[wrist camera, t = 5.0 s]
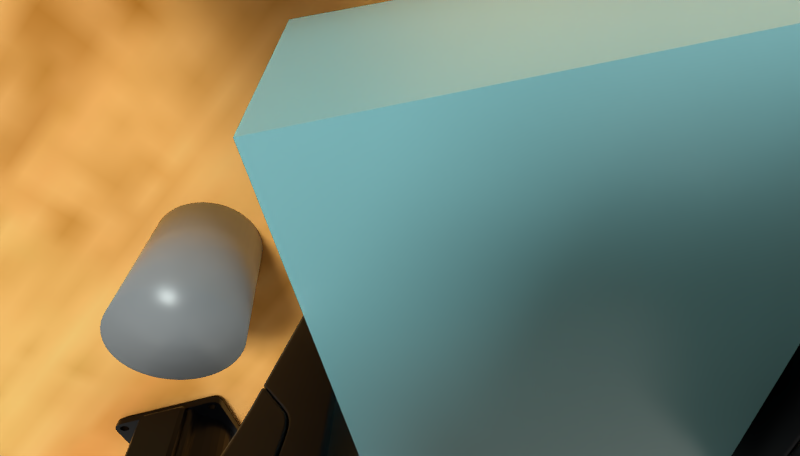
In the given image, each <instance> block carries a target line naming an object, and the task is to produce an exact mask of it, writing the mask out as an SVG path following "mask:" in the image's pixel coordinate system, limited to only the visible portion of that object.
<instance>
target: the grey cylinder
mask: <svg viewBox="0 0 800 456" xmlns="http://www.w3.org/2000/svg"><path fill="white" fill-rule="evenodd" d="M262 252H263V245H262V240H261V237H260V234H259V232H258V230H257V229H256V227H255V226H254V225H253V224H252V223H251V221H250V220H248V219H247V218H246V217H245V216H244V215H242V214H241V213H239V212H237V211H235V210H233V209H231V208H229V207H226V206H223V205H219V204H214V203H204V202H202V203H191V204H186V205H183V206H180V207H178V208H175V209H174V210H172V211H170V212H169V213H168V214H166V215H165V216H164V217H163V218H162V219H161V221H160V222H159V224H158V226H157V227H156V229H155V231H154V232H153V234H152V235H151V237H150V239H149V240H148V242H147V244H146V245H145V247H144V249H143V250H142V252H141V254H140V255H139V257H138V259H137V260H136V262H135V264H134V265H133V267H132V269H131V270H130V272H129V274H128V275H127V277H126V279H125V280H124V282H123V284H122V285H121V287H120V289H119V290H118V292H117V293H116V295H115V297H114V298H113V300H112V302H111V303H110V305H109V307H108V308H107V310H106V312H105V313H104V315H103V318H102V320H101V326H100V330H101V337H102V340H103V342H104V344H105V346H106V348H107V349H108V350H109V352H110V353H111V354H112V355H113V356H114V357H115V358H116V359H117V360H119V361H120V362H121V363H123V364H124V365H126V366H128V367H129V368H131V369H133V370H135V371H138V372H140V373H143V374H146V375H150V376H153V377H158V378H164V379H175V380H184V379H196V378H201V377H206V376H209V375H212V374H215V373H217V372H220V371H222V370H224V369H226V368H227V367H229V366H230V365H231V364H233V363H234V362H235V361H236V360H237V359H238V358H239V356H240V355H241V354H242V352H243V350H244V348H245V345H246V340H247V334H248V329H249V323H250V318H251V312H252V307H253V301H254V296H255V290H256V285H257V279H258V274H259V268H260V263H261V257H262Z"/></svg>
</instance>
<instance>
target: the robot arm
mask: <svg viewBox="0 0 800 456" xmlns="http://www.w3.org/2000/svg"><path fill="white" fill-rule="evenodd" d="M116 430H117V432H118V433H119V434H120V435H121V436H122V437H123V438H124V439H125V440H126V441H127V442H128V443H129V447H128V450H127V452H126V455H125V456H359V454H358V451H357V449H356V446H355V444H354V441H353V439H352V436H351V434H350V431H349V429H348V426H347V424H346V421H345V419H344V416H343V414H342V411H341V409H340V406H339V403H338V401H337V398H336V396H335V393H334V391H333V388H332V386H331V383H330V381H329V378H328V376H327V373H326V371H325V368H324V366H323V363H322V361H321V358H320V356H319V353H318V350H317V348H316V345H315V343H314V340H313V338H312V335H311V333H310V330H309V328H308V325H307V323H306V320H305V318H304V315H303V317H302V319H301V321H300V322H299V324H298V326H297V328H296V330H295V331H294V333H293V335H292V337H291V338H290V340H289V342H288V344H287V345H286V347H285V349H284V351H283V353H282V354H281V356H280V358H279V360H278V361H277V363H276V365H275V367H274V369H273V370H272V372H271V374H270V376H269V377H268V379H267V381H266V383H265V384H264V388H263V389H261V391H260V393H259V395H258V397H257V398H256V400H255V402H254V404H253V405H252V407H251V409H250V410H249V412H248V414H247V415H246V417H245V419H244V420H243V422H242V424H241V425H240V426H239V425H238V423H237V422H236V420H235V419H234V417H233V416H232V414H231V413H230V411H229V410H228V408H227V407H226V405H225V404H224V402H223V401H222V399H221V398H219V397H208V398H204V399H200V400H196V401H192V402H188V403H184V404H180V405H175V406H171V407H167V408H163V409H159V410H155V411H151V412H147V413H142V414H138V415H134V416H130V417H126V418H122V419H120V420H119V421H118V423H117V425H116ZM732 456H800V344H799V346H798V348H797V349H796V351H795V353H794V354H793V356H792V357H791V359H790V361H789V362H788V364H787V366H786V367H785V369H784V371H783V372H782V374H781V375H780V377H779V379H778V380H777V382H776V384H775V385H774V387H773V389H772V390H771V392H770V393H769V395H768V397H767V398H766V400H765V402H764V403H763V405H762V407H761V408H760V410H759V411H758V413H757V415H756V416H755V418H754V420H753V421H752V423H751V425H750V426H749V428H748V429H747V431H746V433H745V434H744V436H743V438H742V439H741V441H740V443H739V444H738V446H737V447H736V449H735V451H734V452H733V454H732Z"/></svg>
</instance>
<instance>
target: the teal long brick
mask: <svg viewBox="0 0 800 456" xmlns="http://www.w3.org/2000/svg"><path fill="white" fill-rule="evenodd" d="M233 138H234V141H235V143H236V146H237V148H238V151H239V154H240V156H241V159H242V161H243V164H244V166H245V169H246V171H247V174H248V176H249V179H250V181H251V184H252V186H253V189H254V191H255V194H256V196H257V199H258V202H259V204H260V207H261V209H262V212H263V214H264V217H265V219H266V222H267V224H268V227H269V229H270V232H271V234H272V237H273V239H274V242H275V244H276V247H277V249H278V252H279V255H280V257H281V260H282V262H283V265H284V267H285V270H286V272H287V275H288V277H289V280H290V282H291V285H292V287H293V290H294V292H295V295H296V297H297V300H298V302H299V305H300V308H301V310H302V313H303V315H304V318H305V320H306V323H307V325H308V328H309V330H310V333H311V335H312V338H313V340H314V343H315V345H316V348H317V350H318V353H319V356H320V358H321V361H322V363H323V366H324V368H325V371H326V373H327V376H328V378H329V381H330V383H331V386H332V388H333V391H334V393H335V396H336V398H337V401H338V403H339V406H340V409H341V411H342V414H343V416H344V419H345V421H346V424H347V426H348V429H349V431H350V434H351V436H352V439H353V441H354V444H355V446H356V449H357V451H358V454H359V456H732V454H733V452H734V451H735V449H736V447H737V446H738V444H739V443H740V441H741V439H742V438H743V436H744V434H745V433H746V431H747V429H748V428H749V426H750V425H751V423H752V421H753V420H754V418H755V416H756V415H757V413H758V411H759V410H760V408H761V407H762V405H763V403H764V402H765V400H766V398H767V397H768V395H769V393H770V392H771V390H772V389H773V387H774V385H775V384H776V382H777V380H778V379H779V377H780V375H781V374H782V372H783V371H784V369H785V367H786V366H787V364H788V362H789V361H790V359H791V357H792V356H793V354H794V353H795V351H796V349H797V348H798V346H799V344H800V0H392V1H386V2H381V3H375V4H370V5H365V6H359V7H354V8H348V9H343V10H337V11H332V12H327V13H321V14H316V15H310V16H305V17H300V18H294V19H289V21H288V23H287V25H286V27H285V29H284V31H283V33H282V36H281V38H280V40H279V42H278V44H277V46H276V48H275V50H274V52H273V55H272V57H271V59H270V61H269V63H268V65H267V67H266V69H265V71H264V73H263V76H262V78H261V80H260V82H259V84H258V86H257V88H256V90H255V92H254V95H253V97H252V99H251V101H250V103H249V105H248V107H247V109H246V111H245V113H244V116H243V118H242V120H241V122H240V124H239V126H238V128H237V130H236V132H235V135H234V137H233Z"/></svg>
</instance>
